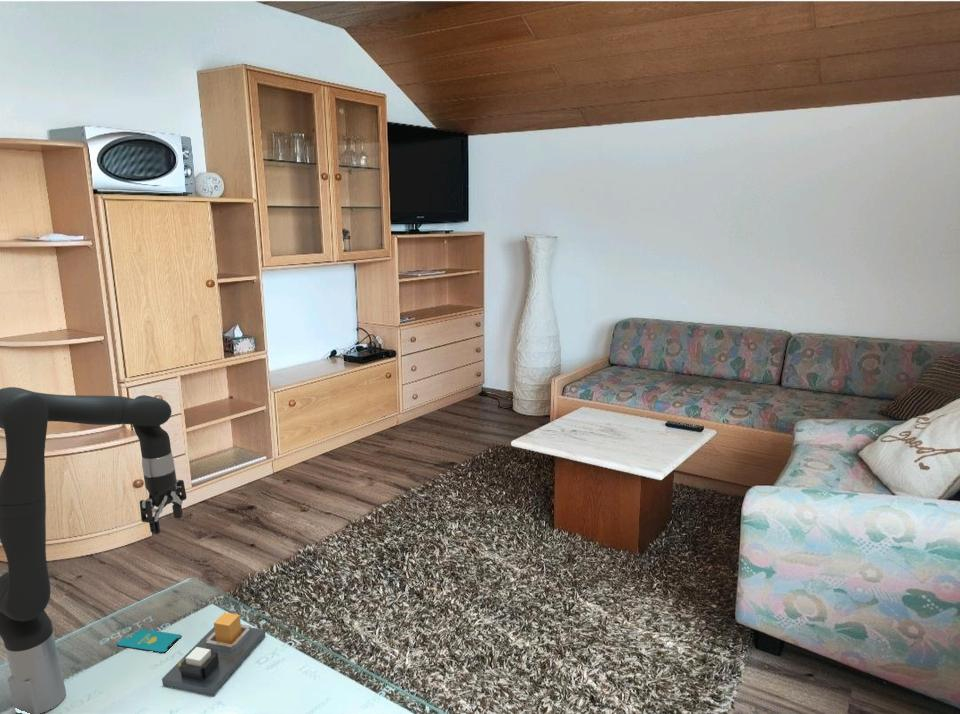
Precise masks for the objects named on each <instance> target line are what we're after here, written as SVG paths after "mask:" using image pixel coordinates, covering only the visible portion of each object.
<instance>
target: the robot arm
mask: <svg viewBox="0 0 960 714" xmlns="http://www.w3.org/2000/svg"><path fill="white" fill-rule="evenodd" d="M171 415H172V408H171V406H170V403H168V402H167V401H166V400H164V399H163V398H158V397H154V396H151V395H143V394H141V395H138V396H136V397H135V398H133V397H132V398H131V397H127V396H121V395H78V394H77V395H71V394H69V395H66V394H52V393H43V392H37V391H32V390H30V389H29V390H28V389H25V388H22V387H14V386H9V387H3V388H0V429H2V430H3V432H4V435H5V447H6V448H5V449H6V451H5V452H6V455H5V456H6V457H5V462H4V466H3V469H2V472H1V473H0V543H1V546H2V548H3V549H2V550H3V551H4V554H5V556H6V560H7V568H8V570H7V571H6V572H5V573H3V574H2V575H0V637H1V639H2V640H3V641H2V642H3V643H4V644H3V645H4V647H5V648H4V649H5V652H6V656H7V660H8V666H9V669H10V676H9V677H7V682H8V686H9V690H10V691H9V692H10V694H11V699H12V704H13V707H14V708H17V709H19V710H21V711H25V712H27V713H30V714H40V713H43V712H45V711H47V712H49V711H51V710H53V709H55V708H56V707H58V706H59V705H60V704H61V703H62V702H63V700H64V699H65V697H66V694H67V690H66V686H65V685H66V684H65V681H64V675H63V671H62V667H61V662H60V657H59V652H58V647H57V644H56V643H57V642H56V637H55V632H54V628H53V622H52V620H51V618H50V616H49V615H48V614H47V612H46V611H45V609H47V606H48V605H49V602H50V598H51V584H50V575H49V570H48V562H47V561H48V560H47V549H46V548H47V547H46V545H47V544H46V543H47V539H46V538H47V537H46V535H47V531H46V530H47V529H46V527H47V526H46V525H47V523H46V517H47V516H46V513H47V501H46V500H47V496H46V495H47V494H46V464H45V463H46V462H45V460H46V459H45V458H46V457H45V456H46V455H45V452H46V451H45V449H46V440H47V432H48V431H47V429H48V422H60V423H63V422H65V423H72V424H73V423H74V424H79V425H81V424H82V425H92V426H93V425H96V426H102V425H103V426H115V425H119V426H120V425H131V426H132V427H133V429H134V432H135V435H136V436H137V439H138V440H139V447H140V453H141V467H142V475H143V479H144V486H145V490H146V491H147V492H148V498H146V499H141V500H140V501H139V507H140V517H141V522H142V523H148V524H149V531H150V533H151V534H154V535H159V534H161V527H160V520H159V517H160V515H161V514H162V512H163V510H164V508H165V507H166V506H168V505H169V504H172V505H171V506H172V514H173V518H175V519H181V518H183V507H182V505H183V501H186V500H187V492H186V488H185V482H184V480H183V479H177V475H176V468H175V467H176V466H175V461H174V456H173V452H172V448H171V446H172V445H171V441H170V440H171V439H170V435H169V433H168V432H167V431H166V430H165V429H163V428H162V427H161V425H164V424H165V423H166V422H168V421H169V420H170V418H171ZM155 507H156V508H155ZM50 709H51V710H50ZM48 710H49V711H48ZM45 713H46V712H45ZM43 714H44V713H43Z"/></svg>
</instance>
